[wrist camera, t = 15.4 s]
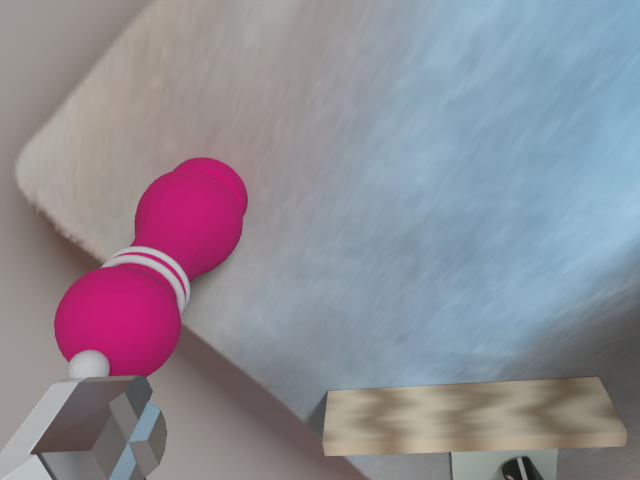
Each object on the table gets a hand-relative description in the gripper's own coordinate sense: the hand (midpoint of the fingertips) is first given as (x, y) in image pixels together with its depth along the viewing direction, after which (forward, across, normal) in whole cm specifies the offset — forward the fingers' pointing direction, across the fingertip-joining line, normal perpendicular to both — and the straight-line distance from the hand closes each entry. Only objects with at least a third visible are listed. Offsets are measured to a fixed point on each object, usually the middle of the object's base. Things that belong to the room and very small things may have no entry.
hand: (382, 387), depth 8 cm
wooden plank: (+29, -4, +30) cm, 42 cm away
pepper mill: (+29, +14, +8) cm, 33 cm away
